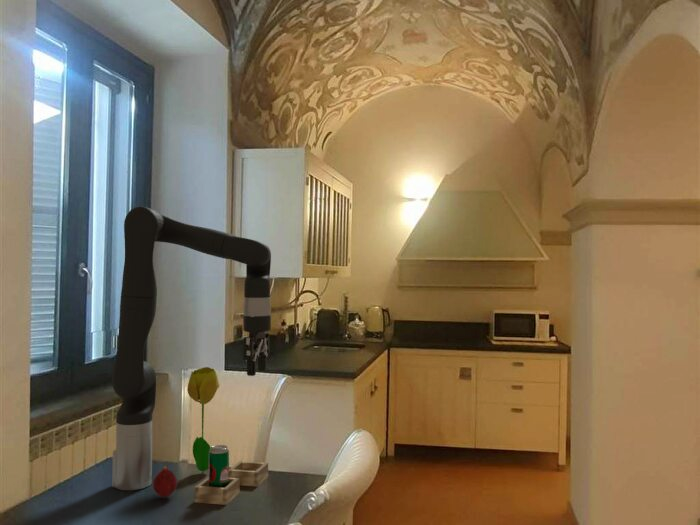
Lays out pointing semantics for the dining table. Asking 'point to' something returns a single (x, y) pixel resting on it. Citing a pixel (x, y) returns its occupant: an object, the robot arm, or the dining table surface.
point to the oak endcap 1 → (217, 492)
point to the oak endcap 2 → (249, 473)
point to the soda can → (219, 466)
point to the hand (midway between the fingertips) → (256, 373)
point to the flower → (204, 390)
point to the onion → (165, 483)
